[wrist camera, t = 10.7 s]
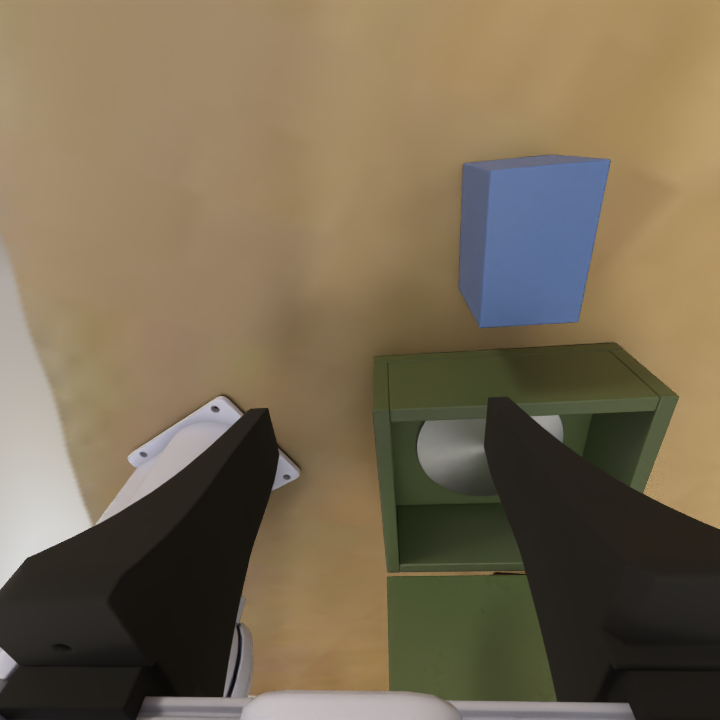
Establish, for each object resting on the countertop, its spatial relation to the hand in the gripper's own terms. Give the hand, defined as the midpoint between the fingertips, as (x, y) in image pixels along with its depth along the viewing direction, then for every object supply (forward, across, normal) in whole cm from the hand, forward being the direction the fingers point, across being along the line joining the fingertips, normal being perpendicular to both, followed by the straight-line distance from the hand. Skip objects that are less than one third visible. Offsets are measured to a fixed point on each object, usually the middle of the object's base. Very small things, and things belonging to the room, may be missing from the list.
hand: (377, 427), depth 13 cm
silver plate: (+10, -6, +9) cm, 15 cm away
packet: (+10, -6, -4) cm, 12 cm away
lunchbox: (+10, -6, +9) cm, 15 cm away
